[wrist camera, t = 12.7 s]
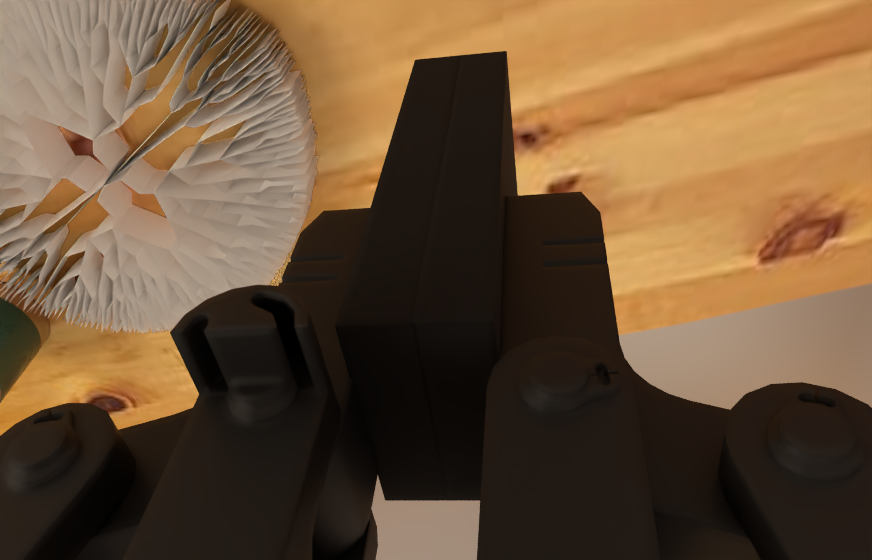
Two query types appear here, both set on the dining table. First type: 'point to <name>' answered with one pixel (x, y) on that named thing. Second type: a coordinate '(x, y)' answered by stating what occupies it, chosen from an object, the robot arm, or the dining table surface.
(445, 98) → the robot arm
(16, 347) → the bean tin
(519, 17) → the dining table surface
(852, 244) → the dining table surface
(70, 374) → the dining table surface
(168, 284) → the spiky fractal disc
